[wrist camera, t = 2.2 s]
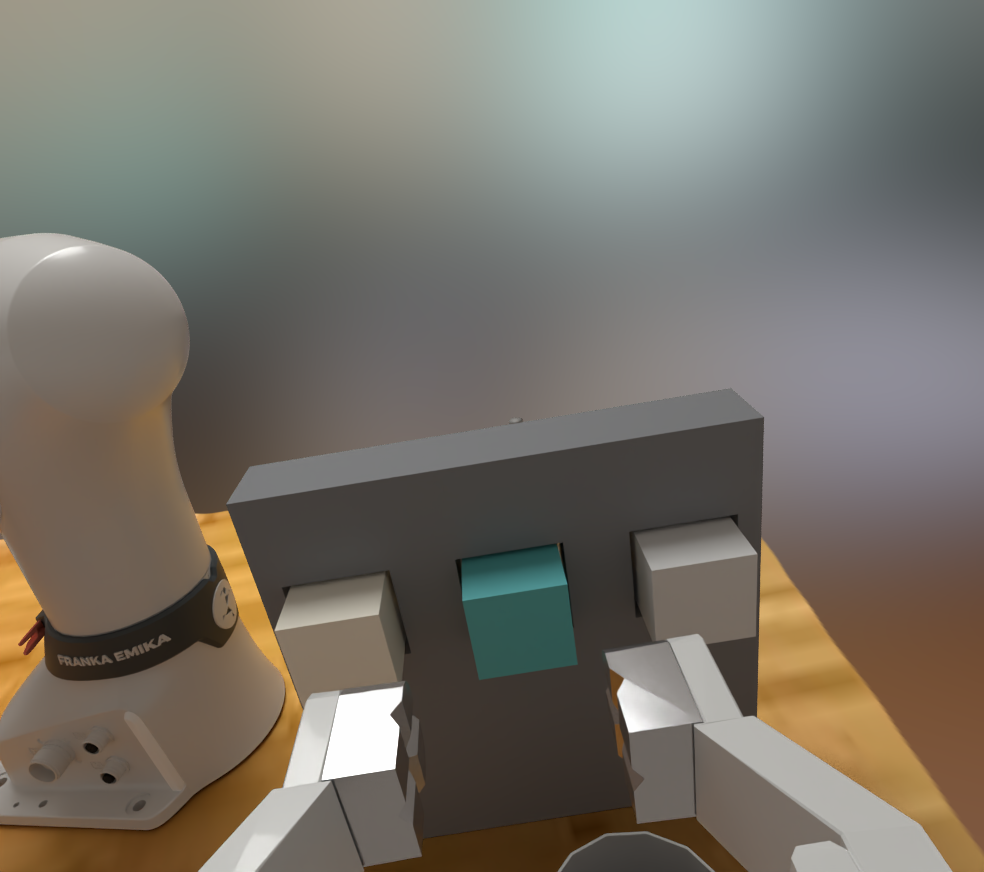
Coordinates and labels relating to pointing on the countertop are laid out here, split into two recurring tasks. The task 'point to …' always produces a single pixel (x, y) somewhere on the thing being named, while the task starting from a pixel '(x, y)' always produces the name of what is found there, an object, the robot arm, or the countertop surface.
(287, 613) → the cream push-block
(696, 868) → the cup
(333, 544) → the button panel
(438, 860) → the countertop surface
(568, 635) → the teal push-block
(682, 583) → the light grey push-block
